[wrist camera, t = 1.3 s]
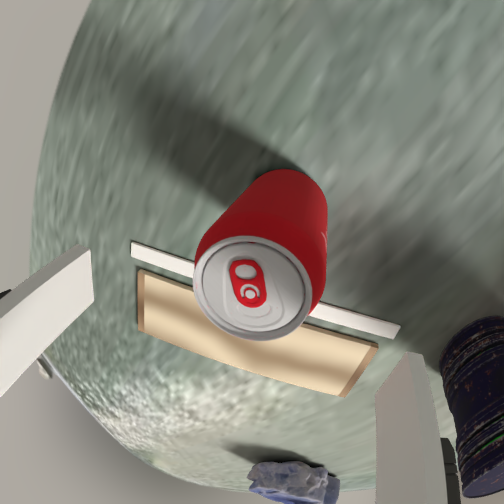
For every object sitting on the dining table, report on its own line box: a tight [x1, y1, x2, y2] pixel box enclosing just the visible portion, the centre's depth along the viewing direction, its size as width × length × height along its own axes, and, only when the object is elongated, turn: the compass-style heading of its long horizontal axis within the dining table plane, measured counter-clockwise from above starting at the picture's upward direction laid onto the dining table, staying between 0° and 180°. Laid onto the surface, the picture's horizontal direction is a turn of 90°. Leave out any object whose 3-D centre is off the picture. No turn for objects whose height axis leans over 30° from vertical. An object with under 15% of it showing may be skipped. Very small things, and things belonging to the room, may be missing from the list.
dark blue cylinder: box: [439, 316, 504, 498], centre depth 18 cm, size 10×10×15 cm
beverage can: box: [193, 169, 327, 341], centre depth 18 cm, size 6×6×12 cm
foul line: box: [131, 242, 401, 339], centre depth 27 cm, size 2×26×1 cm, turn 78°
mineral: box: [247, 461, 340, 504], centre depth 38 cm, size 14×10×10 cm
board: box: [138, 269, 379, 397], centre depth 30 cm, size 8×24×1 cm, turn 78°
